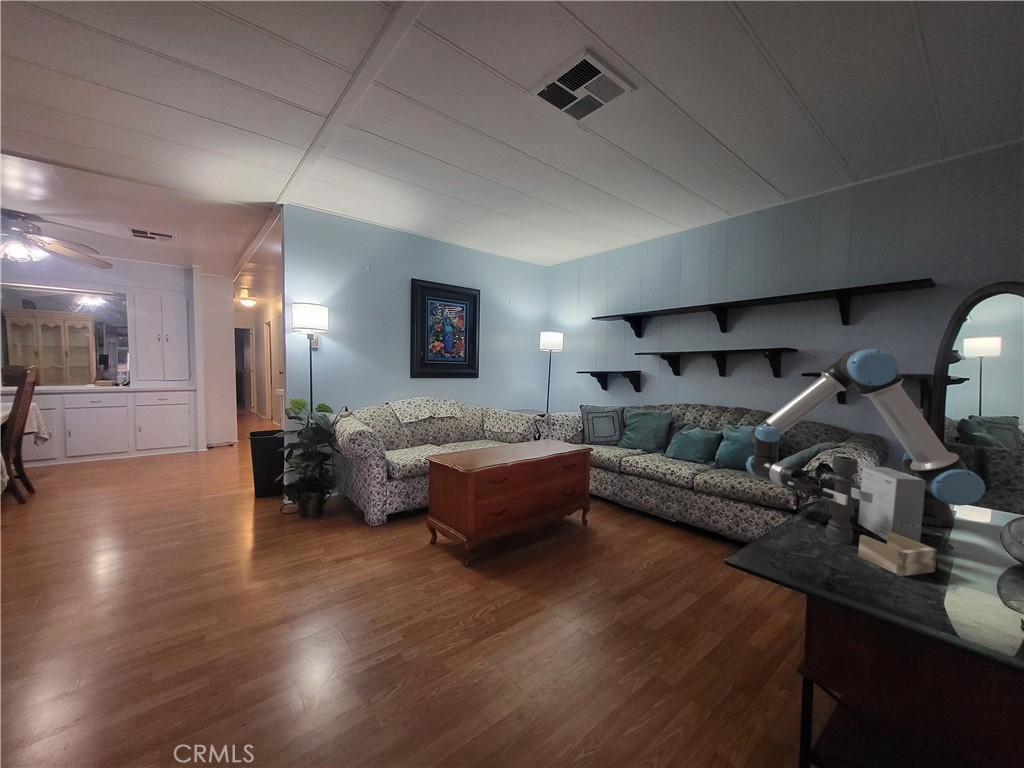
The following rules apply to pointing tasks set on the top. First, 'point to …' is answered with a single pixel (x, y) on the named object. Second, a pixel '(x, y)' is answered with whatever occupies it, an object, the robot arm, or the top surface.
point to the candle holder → (842, 513)
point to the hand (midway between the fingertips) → (859, 499)
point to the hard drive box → (892, 503)
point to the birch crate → (898, 554)
